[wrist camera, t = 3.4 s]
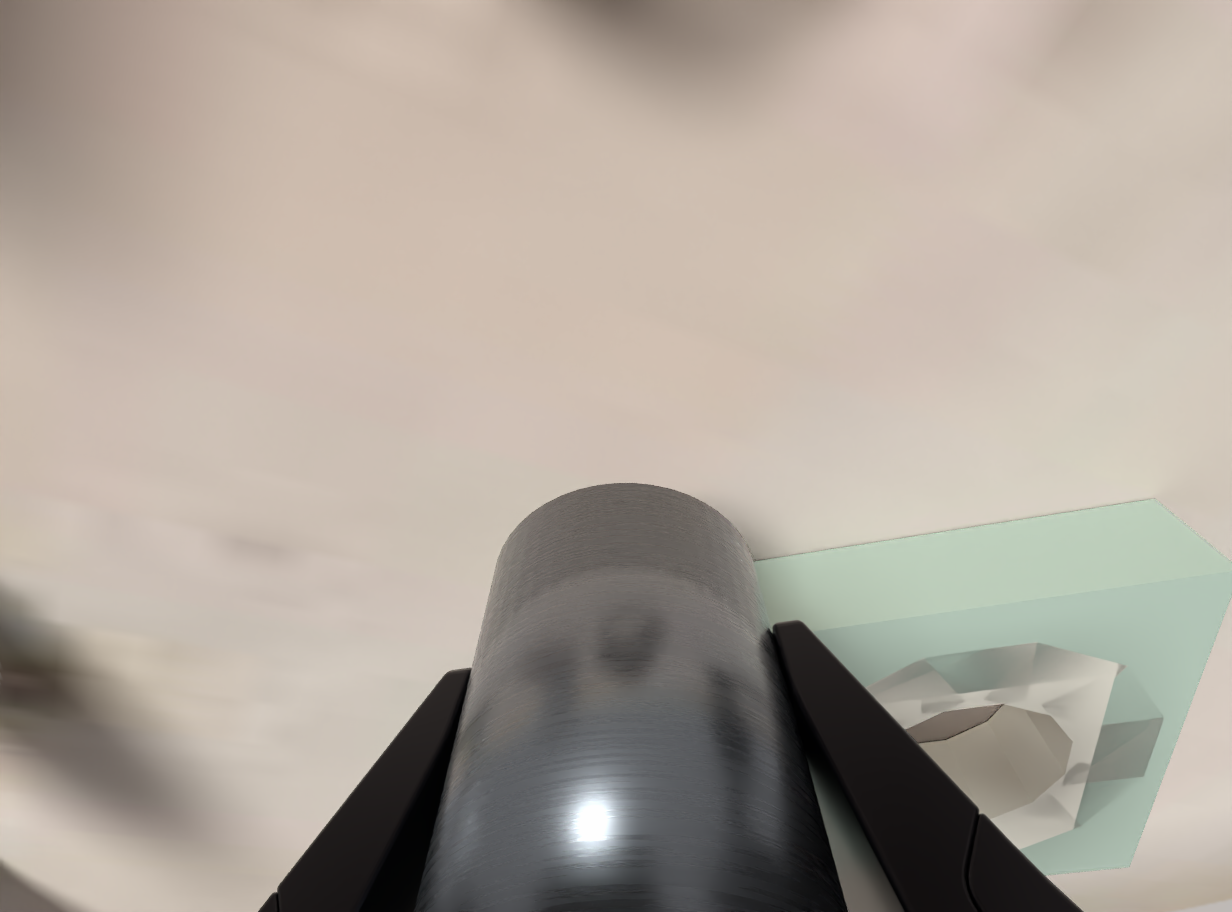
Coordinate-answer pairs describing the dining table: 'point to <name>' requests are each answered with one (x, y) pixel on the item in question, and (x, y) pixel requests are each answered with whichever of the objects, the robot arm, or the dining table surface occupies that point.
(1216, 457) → the dining table surface
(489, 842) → the dark metal cylinder
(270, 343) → the dining table surface
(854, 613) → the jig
